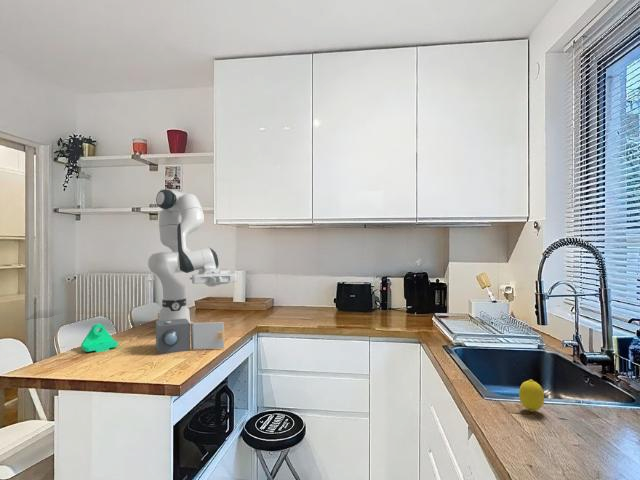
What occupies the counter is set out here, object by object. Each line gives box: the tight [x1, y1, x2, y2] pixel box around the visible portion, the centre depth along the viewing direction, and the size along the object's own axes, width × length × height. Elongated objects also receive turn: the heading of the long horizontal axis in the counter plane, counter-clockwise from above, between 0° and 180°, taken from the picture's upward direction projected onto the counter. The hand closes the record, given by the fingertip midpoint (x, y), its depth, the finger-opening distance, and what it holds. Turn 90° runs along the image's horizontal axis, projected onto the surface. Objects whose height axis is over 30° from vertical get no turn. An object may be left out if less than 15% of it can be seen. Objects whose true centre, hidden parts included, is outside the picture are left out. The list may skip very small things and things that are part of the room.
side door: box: [190, 321, 225, 350], centre depth 161 cm, size 13×2×10 cm, turn 95°
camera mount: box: [80, 323, 119, 353], centre depth 164 cm, size 12×8×10 cm, turn 134°
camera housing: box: [155, 318, 191, 355], centre depth 162 cm, size 14×12×12 cm
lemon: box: [518, 379, 545, 413], centre depth 99 cm, size 6×6×8 cm
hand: (217, 280), depth 178 cm, fingers closed
